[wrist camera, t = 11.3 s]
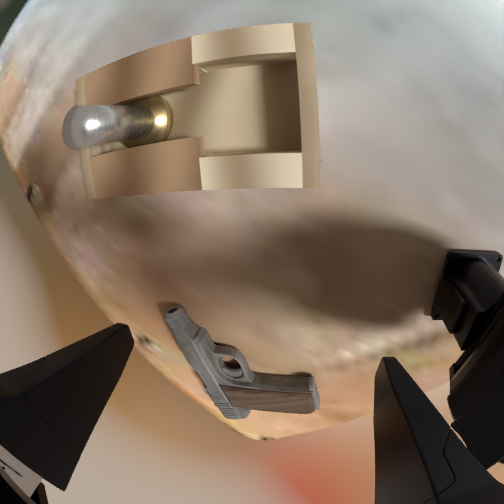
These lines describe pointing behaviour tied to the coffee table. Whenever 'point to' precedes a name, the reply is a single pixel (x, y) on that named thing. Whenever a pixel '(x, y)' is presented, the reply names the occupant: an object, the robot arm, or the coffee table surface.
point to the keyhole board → (213, 114)
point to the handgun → (238, 375)
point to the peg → (119, 123)
